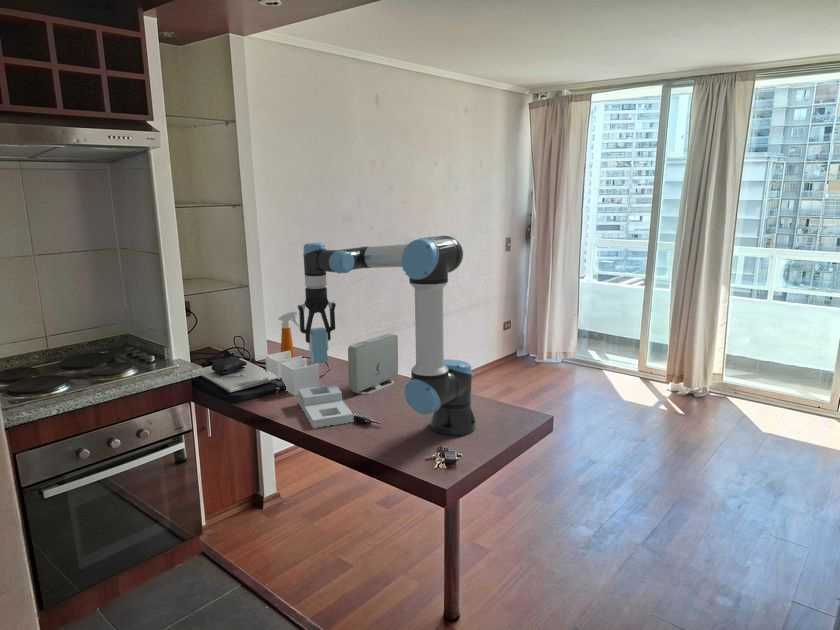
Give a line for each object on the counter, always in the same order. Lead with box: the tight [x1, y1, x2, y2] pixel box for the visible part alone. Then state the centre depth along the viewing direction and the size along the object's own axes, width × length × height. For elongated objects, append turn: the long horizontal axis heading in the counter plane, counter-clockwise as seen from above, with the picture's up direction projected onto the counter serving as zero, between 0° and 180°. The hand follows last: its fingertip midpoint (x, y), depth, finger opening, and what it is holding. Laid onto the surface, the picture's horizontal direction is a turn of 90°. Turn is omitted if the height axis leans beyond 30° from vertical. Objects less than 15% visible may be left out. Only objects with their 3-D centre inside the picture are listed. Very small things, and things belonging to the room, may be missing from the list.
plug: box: [310, 326, 329, 365], centre depth 205 cm, size 6×5×12 cm
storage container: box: [265, 351, 321, 397], centre depth 231 cm, size 25×11×11 cm, turn 40°
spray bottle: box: [278, 310, 300, 358], centre depth 251 cm, size 7×11×26 cm, turn 86°
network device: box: [347, 333, 399, 396], centre depth 227 cm, size 26×9×20 cm, turn 143°
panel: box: [297, 383, 354, 429], centre depth 202 cm, size 24×14×6 cm, turn 23°
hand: (318, 350), depth 204 cm, fingers closed on plug, 5 cm apart
